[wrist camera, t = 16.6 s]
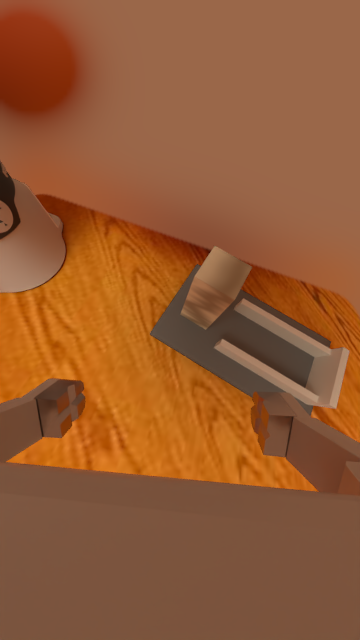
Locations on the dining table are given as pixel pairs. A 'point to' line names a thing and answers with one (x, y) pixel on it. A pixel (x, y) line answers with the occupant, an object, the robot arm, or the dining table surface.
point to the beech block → (214, 287)
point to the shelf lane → (257, 349)
